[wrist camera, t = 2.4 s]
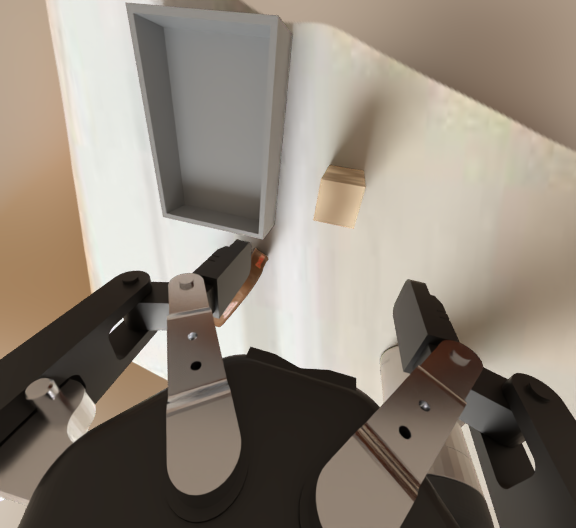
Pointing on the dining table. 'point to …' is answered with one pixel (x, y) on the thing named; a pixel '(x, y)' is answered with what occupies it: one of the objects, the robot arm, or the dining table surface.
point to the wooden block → (340, 196)
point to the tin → (245, 285)
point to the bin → (214, 111)
